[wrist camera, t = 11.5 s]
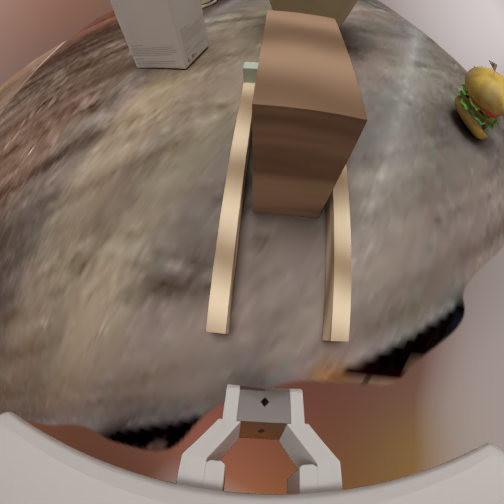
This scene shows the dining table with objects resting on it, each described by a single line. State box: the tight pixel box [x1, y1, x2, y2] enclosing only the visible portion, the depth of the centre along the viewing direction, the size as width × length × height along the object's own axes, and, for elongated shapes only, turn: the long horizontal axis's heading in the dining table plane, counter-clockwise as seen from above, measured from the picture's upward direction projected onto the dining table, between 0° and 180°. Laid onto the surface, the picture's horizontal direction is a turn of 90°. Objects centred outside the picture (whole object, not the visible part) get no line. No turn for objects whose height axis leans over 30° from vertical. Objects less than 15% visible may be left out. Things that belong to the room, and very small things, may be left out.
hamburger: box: [455, 61, 504, 139], centre depth 19 cm, size 8×7×12 cm
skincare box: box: [110, 0, 208, 69], centre depth 20 cm, size 8×7×16 cm
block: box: [252, 10, 367, 218], centre depth 17 cm, size 12×5×11 cm, turn 175°
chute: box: [206, 82, 351, 341], centre depth 20 cm, size 22×9×2 cm, turn 175°
